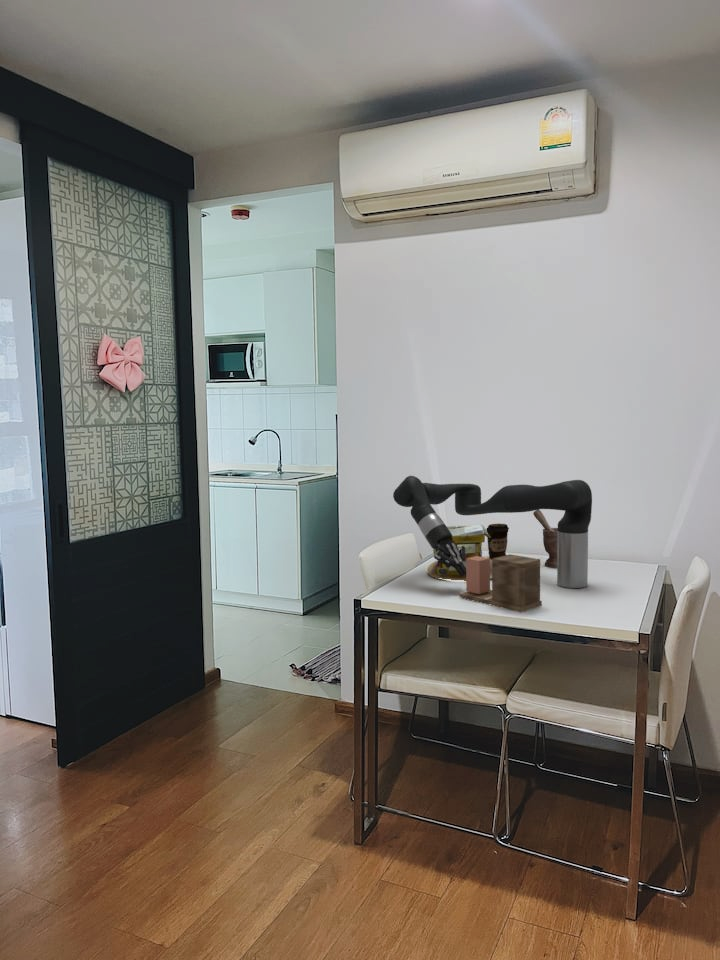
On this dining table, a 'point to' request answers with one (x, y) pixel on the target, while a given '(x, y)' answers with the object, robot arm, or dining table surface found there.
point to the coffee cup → (497, 540)
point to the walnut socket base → (512, 584)
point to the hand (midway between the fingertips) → (465, 575)
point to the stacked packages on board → (472, 543)
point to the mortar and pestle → (548, 539)
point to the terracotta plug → (478, 574)
